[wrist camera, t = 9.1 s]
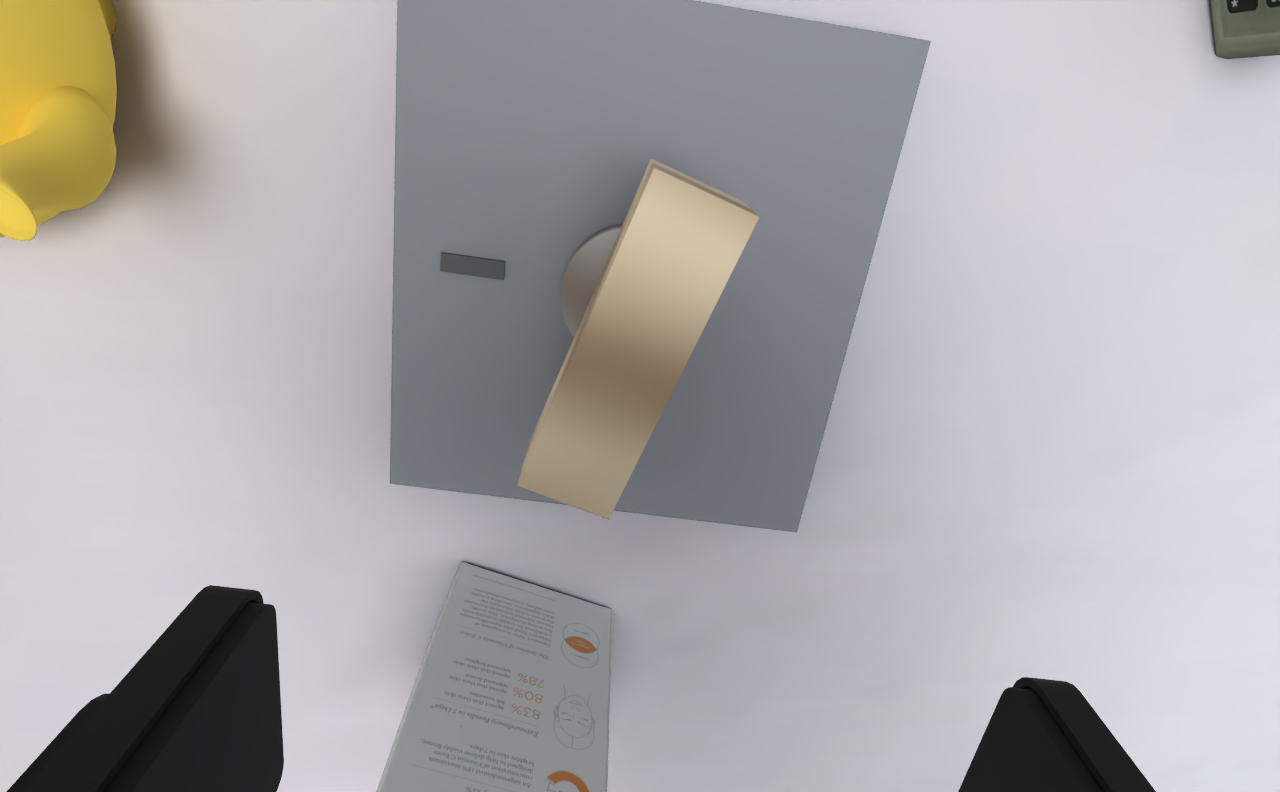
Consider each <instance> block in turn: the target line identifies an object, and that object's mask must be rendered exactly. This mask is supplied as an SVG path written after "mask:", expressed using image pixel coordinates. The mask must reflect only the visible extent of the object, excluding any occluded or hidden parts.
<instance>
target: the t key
mask: <svg viewBox="0 0 1280 792" xmlns="http://www.w3.org/2000/svg"><path fill="white" fill-rule="evenodd" d="M758 219H759V216H758V215H757V214H756V213H755V212H754V211H753V210H752V209H751V208H749V207H748V206H747V205H746V204H745V203H744V202H743V201H741V200H739V199H737V198H735V197H733V196H731V195H729V194H726V193H724V192H722V191H720V190H718V189H716V188H714V187H711V186H709V185H707V184H705V183H703V182H701V181H699V180H696V179H694V178H692V177H690V176H688V175H686V174H684V173H681V172H679V171H677V170H675V169H673V168H671V167H669V166H666V165H664V164H662V163H660V162H658V161H656V160H654V159H650V162H649V164H648V166H647V169H646V171H645V173H644V176H643V178H642V180H641V183H640V185H639V187H638V190H637V192H636V194H635V197H634V199H633V201H632V204H631V206H630V208H629V211H628V213H627V215H626V218H625V220H624V222H623V224H618V225H612V226H609V227H606V228H604V229H601V230H599V231H597V232H596V233H594V234H593V235H591V236H589V237H588V238H587V239H586V240H585V241H584V242H583V243H582V244H581V245H580V246H579V247H578V248H577V250H576V251H575V253H574V254H573V256H572V257H571V260H570V262H569V264H568V266H567V269H566V272H565V275H564V278H563V281H562V286H561V297H560V299H561V309H562V313H563V317H564V320H565V322H566V325H567V327H568V329H569V331H570V332H571V334H572V335H573V337H574V339H573V341H572V344H571V346H570V348H569V351H568V353H567V355H566V358H565V360H564V362H563V365H562V367H561V369H560V372H559V374H558V376H557V379H556V381H555V383H554V386H553V388H552V390H551V393H550V395H549V397H548V400H547V402H546V404H545V407H544V409H543V411H542V414H541V416H540V418H539V421H538V423H537V425H536V428H535V430H534V432H533V435H532V437H531V439H530V442H529V445H528V449H527V452H526V456H525V459H524V463H523V466H522V470H521V473H520V477H519V480H518V484H517V486H520V487H522V488H525V489H528V490H530V491H533V492H536V493H538V494H541V495H544V496H547V497H549V498H552V499H555V500H557V501H560V502H563V503H565V504H568V505H571V506H574V507H576V508H579V509H582V510H584V511H587V512H590V513H593V514H595V515H598V516H601V517H603V518H606V519H609V518H610V516H611V514H612V512H613V510H614V508H615V506H616V504H617V502H618V500H619V498H620V496H621V494H622V492H623V490H624V488H625V486H626V484H627V482H628V480H629V478H630V476H631V474H632V472H633V470H634V468H635V466H636V464H637V462H638V460H639V458H640V456H641V454H642V452H643V450H644V448H645V446H646V444H647V442H648V440H649V438H650V436H651V434H652V432H653V430H654V428H655V426H656V424H657V422H658V420H659V418H660V416H661V414H662V412H663V410H664V408H665V406H666V404H667V402H668V400H669V398H670V396H671V394H672V392H673V390H674V388H675V386H676V384H677V382H678V380H679V378H680V376H681V374H682V372H683V370H684V368H685V366H686V364H687V361H688V359H689V357H690V355H691V353H692V351H693V349H694V347H695V345H696V343H697V341H698V339H699V337H700V335H701V333H702V331H703V329H704V327H705V325H706V323H707V321H708V319H709V317H710V315H711V313H712V311H713V309H714V307H715V305H716V303H717V301H718V299H719V297H720V295H721V293H722V291H723V289H724V287H725V285H726V283H727V281H728V279H729V277H730V275H731V273H732V271H733V269H734V267H735V265H736V263H737V261H738V259H739V257H740V255H741V253H742V251H743V249H744V247H745V245H746V243H747V241H748V239H749V237H750V235H751V233H752V231H753V229H754V227H755V225H756V223H757V221H758Z"/></svg>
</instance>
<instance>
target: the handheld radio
mask: <svg viewBox="0 0 1280 792" xmlns="http://www.w3.org/2000/svg"><path fill="white" fill-rule="evenodd" d="M1210 1H1211V10H1212V19H1213V28H1214V37H1215V46H1216V55H1217V56H1218V57H1221V58H1226V59H1232V58H1245V57H1258V56H1271V55H1280V0H1210Z"/></svg>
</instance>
